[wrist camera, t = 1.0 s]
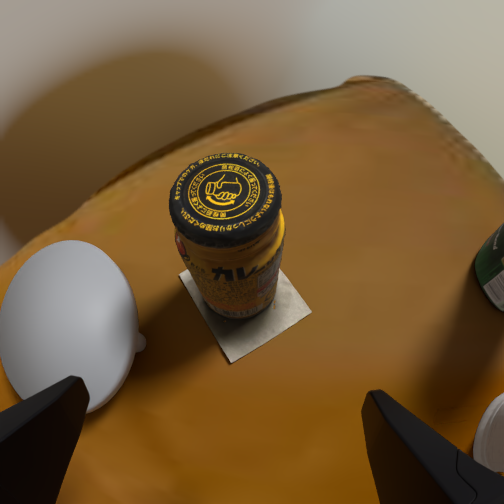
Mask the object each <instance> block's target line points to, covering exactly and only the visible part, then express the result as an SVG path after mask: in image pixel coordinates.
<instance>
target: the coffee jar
mask: <svg viewBox="0 0 504 504" xmlns="http://www.w3.org/2000/svg"><path fill="white" fill-rule="evenodd" d="M475 270H476V275H477V278H478V280H479V283H480V286H481V288H482V290H483V291H484V293H485V295H486V296H487V298H488V299H489V300H490V302H491V303H492V304H493V305H494V306H495V307H497V308H498V309H499V310H501V311H503V312H504V223H503V224H502V225H501V226H500V227H499V228H498V229H497V230H496V231H495V232H494V233H493V234H492V235H491V236H490V237H489V238H488V239H487V241H486V242H485V243H484V244H483V246H482V248H481V249H480V251H479V253H478V255H477V257H476V260H475Z"/></svg>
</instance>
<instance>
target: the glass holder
mask: <svg viewBox="0 0 504 504" xmlns="http://www.w3.org/2000/svg"><path fill="white" fill-rule="evenodd" d="M473 457H474V460H475V461H477V462H478V463H480V464H482V465H483V466H485V467H487V468H488V469H490V470H492V471H494V472H498V471H500V472H504V393H503V394H501V395H499V396H498V397H497V398H496V399H495V400H494V401H493V402H492V403H491V404H490V405H489V407H488V408H487V410H486V411H485V413H484V414H483V417H482V419H481V421H480V423H479V426H478V428H477V432H476V435H475V440H474V447H473Z"/></svg>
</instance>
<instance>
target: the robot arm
mask: <svg viewBox="0 0 504 504" xmlns="http://www.w3.org/2000/svg"><path fill="white" fill-rule="evenodd" d="M89 402H90V394H89V392H88V390H87V387H86V385H85V383H84V380H83V379H82V378H81V377H79V376H74V375H70V376H68V377H66V378H64V379H62V380H61V381H59V382H57V383H55V384H53V385H51V386H49V387H48V388H46V389H44V390H42V391H40V392H38V393H36V394H34V395H33V396H31V397H29V398H27V399H25V400H23V401H21V402H19V403H17V404H15V405H13V406H12V407H10V408H8V409H6V410H4V411H2V412H0V504H56V500H57V497H58V494H59V491H60V488H61V485H62V482H63V479H64V476H65V474H66V471H67V468H68V465H69V463H70V460H71V457H72V455H73V452H74V449H75V447H76V444H77V442H78V439H79V436H80V433H81V430H82V426H83V422H84V419H85V415H86V412H87V409H88V405H89ZM361 414H362V421H363V427H364V434H365V441H366V448H367V454H368V458H369V462H370V466H371V470H372V474H373V477H374V481H375V485H376V489H377V493H378V497H379V501H380V504H504V477H503V476H501V475H500V474H498V473H496V472H494V471H492V470H490V469H488V468H487V467H485V466H483V465H482V464H480V463H478V462H477V461H475V460H474V459H472V458H471V457H470V456H468V455H467V454H465V453H464V452H463V451H461V450H460V449H458V450H457V447H456V446H454V445H453V444H452V443H450V442H449V441H448V440H446V439H445V438H444V437H442V436H441V435H440V434H438V433H437V432H436V431H434V430H433V429H432V428H430V427H429V426H428V425H427V424H425V423H424V422H423V421H421V420H420V419H419V418H417V417H416V416H415V415H414V414H412V413H411V412H410V411H408V410H407V409H406V408H405V407H403V406H402V405H401V404H399V403H398V402H397V401H396V400H394V399H393V398H392V397H390V396H389V395H388V394H387V393H385V392H384V391H383V390H381V389H378V390H371V391H368V393H367V395H366V398H365V401H364V404H363V407H362V411H361Z"/></svg>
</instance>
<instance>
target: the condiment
mask: <svg viewBox="0 0 504 504" xmlns="http://www.w3.org/2000/svg"><path fill="white" fill-rule="evenodd" d="M281 200H282V194H281V191H280V186H279V183H278V180H277V179H276V177H275V175H274V174H273V173H272V172H271V171H270V169H269V168H268V167H266V166H265V165H264V164H263V163H262V162H261V161H259V160H257V159H254V158H251V157H249V156H246V155H244V154H239V153H221V154H215V155H211V156H207V157H205V158H203V159H200V160H198V161H197V162H195V163H192V164H190V165H189V166H188V168H187V169H185V170H184V171H183V172H182V173H181V174H180V175H179V176H178V178H177V180H176V181H175V183H174V185H173V187H172V188H171V190H170V198H169V210H170V215H171V218H172V222H173V223H174V225H175V242H176V245H177V248H178V251H179V253H180V255H181V257H182V259H183V261H184V263H185V265H186V267H187V270H185V271H184V272H182V273H180V274H179V275H180V277H181V279H182V281H183V282H184V284H185V286H186V288H187V290H188V291H189V293H190V295H191V297H192V298H193V300H194V302H195V304H196V305H197V307H198V309H199V311H200V312H201V314H202V316H203V318H204V319H205V321H206V323H207V324H208V326H209V327H210V329H211V331H212V333H213V334H214V336H215V338H216V339H217V341H218V343H219V344H220V346H221V347H222V349H223V351H224V352H225V354H226V355H227V357H228V359H229V360H230V362H231V363H232V362H234V361H236V360H238V359H239V358H241V357H243V356H244V355H246V354H248V353H249V352H251V351H253V350H254V349H256V348H257V347H259V346H261V345H263V344H264V343H266V342H267V341H269V340H270V339H272V338H274V337H275V336H277V335H278V334H280V333H282V332H283V331H284V330H286V329H287V328H289V327H290V326H292V325H294V324H295V323H297V322H298V321H299V320H301V319H302V318H304V317H305V316H307V315H308V314H310V313H311V312H312V311H311V310H310V309H309V307H308V306H307V304H306V303H305V302H304V300H303V299H302V298H301V296H300V295H299V293H298V292H297V291H296V289H295V288H294V287H293V286H292V284H291V283H290V281H289V280H288V279H287V277H286V276H285V275H284V273H283V272H282V271H281V270H280V263H281V260H282V251H283V246H284V237H285V231H286V229H285V224H284V218H283V215H282V212H281ZM274 300H276V303H275V304H274V303H273V301H274ZM274 305H275V306H276V307H275V309H273V306H274ZM224 320H226V322H224Z"/></svg>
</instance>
